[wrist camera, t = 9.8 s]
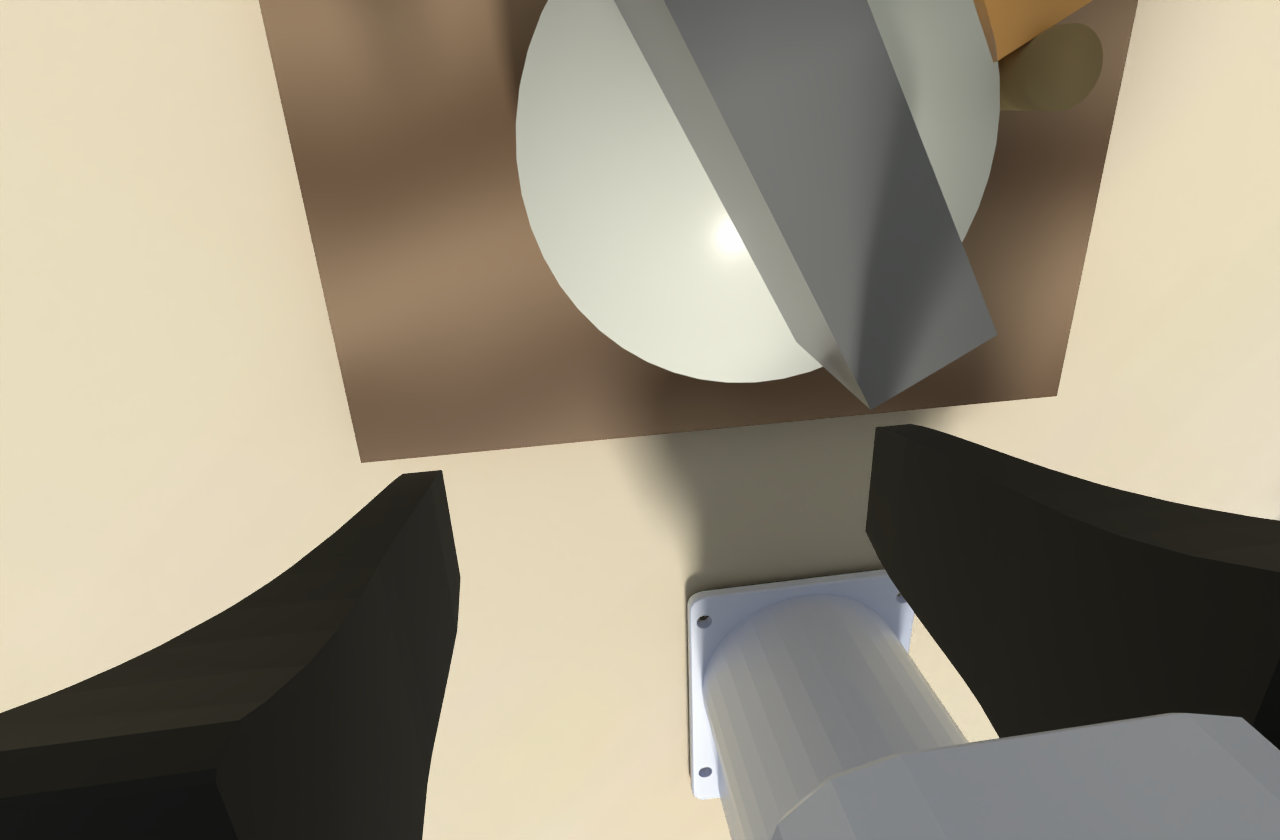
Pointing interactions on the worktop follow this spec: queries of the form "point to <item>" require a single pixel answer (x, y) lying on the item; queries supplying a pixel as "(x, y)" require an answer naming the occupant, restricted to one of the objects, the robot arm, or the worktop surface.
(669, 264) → the flange disc
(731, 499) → the worktop surface
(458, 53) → the walnut base
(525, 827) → the worktop surface
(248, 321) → the worktop surface
